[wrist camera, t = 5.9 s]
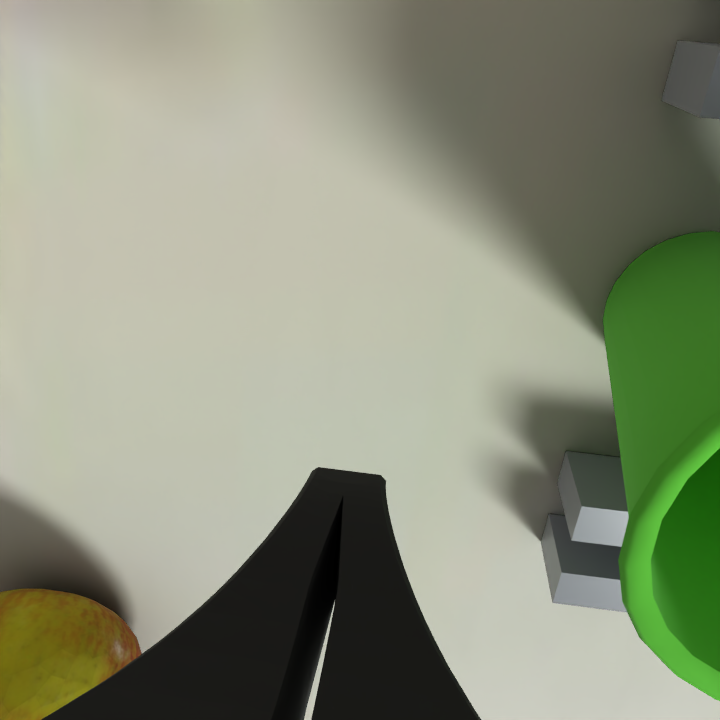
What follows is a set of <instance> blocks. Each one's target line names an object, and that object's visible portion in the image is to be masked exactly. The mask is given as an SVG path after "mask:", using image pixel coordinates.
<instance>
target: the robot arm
mask: <svg viewBox="0 0 720 720" xmlns="http://www.w3.org/2000/svg"><path fill="white" fill-rule="evenodd" d="M334 601H335V606H334V612H333V617H332V622H331V627H330V632H329V637H328V642H327V647H326V652H325V657H324V662H323V667H322V672H321V677H320V682H319V687H318V691H317V696H316V701H315V706H314V710H313V715H312V720H481V719H480V717H479V716H478V714H477V713H476V711H475V710H474V708H473V706H472V705H471V703H470V701H469V700H468V698H467V696H466V695H465V693H464V691H463V690H462V688H461V686H460V685H459V683H458V681H457V680H456V678H455V676H454V675H453V673H452V671H451V670H450V668H449V666H448V664H447V663H446V661H445V659H444V657H443V655H442V653H441V651H440V649H439V647H438V645H437V644H436V642H435V640H434V638H433V636H432V633H431V631H430V629H429V627H428V625H427V623H426V621H425V619H424V616H423V614H422V612H421V610H420V607H419V605H418V603H417V600H416V598H415V595H414V593H413V590H412V588H411V585H410V582H409V580H408V577H407V574H406V571H405V569H404V566H403V563H402V560H401V556H400V553H399V550H398V547H397V543H396V540H395V537H394V533H393V529H392V525H391V520H390V516H389V511H388V505H387V498H386V480H385V479H384V478H383V477H382V476H381V475H376V474H368V473H360V472H352V471H344V470H336V469H328V468H320V467H318V468H316V469H315V470H313V471H312V472H311V474H310V476H309V478H308V480H307V482H306V483H305V485H304V487H303V488H302V490H301V491H300V493H299V494H298V496H297V497H296V499H295V500H294V502H293V503H292V505H291V506H290V507H289V509H288V510H287V512H286V513H285V514H284V516H283V517H282V518H281V520H280V521H279V522H278V523H277V525H276V526H275V527H274V529H273V530H272V531H271V532H270V534H269V535H268V536H267V538H266V539H265V540H264V541H263V542H262V544H261V545H260V546H259V547H258V548H257V549H256V550H255V551H254V553H253V554H252V555H251V556H250V557H249V558H248V559H247V561H246V562H245V563H244V564H243V565H242V566H241V567H240V568H239V569H238V571H237V572H236V573H235V574H234V575H233V576H232V577H231V578H230V579H229V580H228V581H227V582H226V583H225V584H224V585H223V586H222V587H221V588H220V589H219V590H218V591H217V592H216V593H215V594H214V595H213V596H211V597H210V598H209V599H208V600H207V601H206V602H205V603H204V604H203V605H202V606H201V607H200V608H198V609H197V610H196V611H195V612H194V613H193V614H191V615H190V616H189V617H188V618H187V619H186V620H185V621H183V622H182V623H181V624H180V625H179V626H178V627H176V628H175V629H174V630H173V631H172V632H170V633H169V634H168V635H167V636H165V637H164V638H163V639H162V640H160V641H159V642H158V643H156V644H155V645H154V646H152V647H151V648H150V649H148V650H147V651H145V652H144V653H143V654H141V655H140V656H138V657H137V658H136V659H134V660H133V661H132V662H130V663H129V664H127V665H126V666H125V667H123V668H122V669H120V670H119V671H118V672H116V673H115V674H113V675H112V676H111V677H109V678H108V679H106V680H105V681H103V682H102V683H100V684H98V685H97V686H95V687H94V688H92V689H90V690H89V691H87V692H85V693H84V694H82V695H81V696H79V697H77V698H76V699H74V700H72V701H71V702H69V703H68V704H66V705H64V706H63V707H61V708H59V709H58V710H56V711H55V712H53V713H51V714H50V715H48V716H46V717H44V718H43V719H41V720H304V716H305V712H306V707H307V703H308V700H309V696H310V692H311V688H312V684H313V681H314V677H315V673H316V669H317V666H318V662H319V658H320V654H321V650H322V647H323V643H324V639H325V635H326V631H327V628H328V624H329V620H330V616H331V612H332V608H333V605H334Z"/></svg>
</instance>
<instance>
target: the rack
mask: <svg viewBox="0 0 720 720" xmlns="http://www.w3.org/2000/svg"><path fill="white" fill-rule="evenodd" d="M661 101H663V102H666V103H668V104H670V105H672V106H675V107H677V108H679V109H682V110H684V111H686V112H688V113H691V114H693V115H695V116H697V117H702V118H713V119H720V44H715V43H703V42H691V41H677V45H676V49H675V52H674V56H673V60H672V63H671V67H670V71H669V74H668V78H667V82H666V85H665V89H664V93H663V96H662V100H661ZM557 485H558V489H559V493H560V497H561V501H562V505H563V509H564V513H565V516H563V515H554V514H549V515H548V518H547V522H546V526H545V529H544V533H543V537H542V541H541V545H542V551H543V556H544V561H545V566H546V571H547V577H548V582H549V587H550V592H551V597H552V603H558V604H566V605H574V606H581V607H589V608H597V609H605V610H612V611H620V612H627V610H626V608H625V606H624V604H623V602H622V594H621V584H620V573H619V562H618V559H619V555H620V551H621V547H622V543H623V539H624V535H625V531H626V527H627V523H628V519H629V516H628V508H627V501H626V493H625V486H624V479H623V471H622V464H621V457H612V456H603V455H595V454H586V453H578V452H569V451H566V452H565V456H564V460H563V463H562V467H561V471H560V474H559V478H558V482H557Z"/></svg>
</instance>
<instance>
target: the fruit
mask: <svg viewBox="0 0 720 720" xmlns="http://www.w3.org/2000/svg"><path fill="white" fill-rule="evenodd" d="M140 655H141V650H140V647H139V644H138V640H137V638H136V636H135V635H134V633H133V632H132V631H131V629H130V628H129V626H128V625H127V624H126V622H125V621H124V620H122V619H121V618H120V617H119V616H118V615H117V614H116V613H115V612H113V611H112V610H110V609H108V608H106V607H105V606H103V605H101V604H99V603H98V602H96V601H94V600H91V599H89V598H86V597H84V596H80V595H77V594H73V593H68V592H62V591H55V590H48V589H15V590H9V591H3V592H0V720H41V719H43V718H44V717H46V716H48V715H50V714H51V713H53V712H55V711H56V710H58V709H59V708H61V707H63V706H64V705H66V704H68V703H69V702H71V701H72V700H74V699H76V698H77V697H79V696H81V695H82V694H84V693H85V692H87V691H89V690H90V689H92V688H94V687H95V686H97V685H98V684H100V683H102V682H103V681H105V680H106V679H108V678H109V677H111V676H112V675H113V674H115V673H116V672H118V671H119V670H120V669H122V668H123V667H125V666H126V665H127V664H129V663H130V662H132V661H133V660H134V659H136V658H137V657H138V656H140Z"/></svg>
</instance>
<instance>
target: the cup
mask: <svg viewBox="0 0 720 720" xmlns="http://www.w3.org/2000/svg"><path fill="white" fill-rule="evenodd" d="M603 326H604V337H605V345H606V352H607V360H608V367H609V375H610V382H611V389H612V397H613V404H614V412H615V419H616V427H617V434H618V441H619V449H620V456H621V464H622V471H623V479H624V486H625V493H626V501H627V508H628V516H629V519H628V523H627V527H626V531H625V535H624V539H623V543H622V547H621V551H620V555H619V559H618V562H619V573H620V584H621V594H622V602H623V604H624V606H625V608H626V610H627V612H628V614H629V617H630V619H631V621H632V623H633V625H634V627H635V629H636V631H637V633H638V635H639V637H640V639H641V640H642V641H643V642H644V643H645V644H646V645H647V646H648V647H649V648H650V649H651V650H652V651H653V652H654V653H655V654H656V655H657V656H658V657H659V658H660V659H661V661H662V662H663V663H664V664H665V665H666V666H667V667H668V668H669V669H670V670H671V671H672V672H673V673H674V674H676V675H677V676H678V677H680V678H681V679H683V680H684V681H686V682H688V683H689V684H691V685H693V686H694V687H696V688H698V689H699V690H701V691H703V692H704V693H706V694H707V695H709V696H711V697H712V698H714V699H716V700H719V701H720V232H714V231H710V232H698V233H688V234H685V235H682V236H678V237H675V238H672V239H668V240H666V241H663V242H662V243H660V244H658V245H656V246H654V247H652V248H650V249H649V250H647V251H645V252H644V253H643V254H641V255H640V256H639V257H638V258H637V259H635V260H634V261H633V262H632V263H631V264H629V266H628V267H627V268H626V269H625V271H624V272H623V273H622V274H621V276H620V277H619V278H618V280H617V281H616V282H615V284H614V286H613V288H612V290H611V292H610V294H609V297H608V299H607V301H606V306H605V311H604V316H603Z"/></svg>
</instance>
